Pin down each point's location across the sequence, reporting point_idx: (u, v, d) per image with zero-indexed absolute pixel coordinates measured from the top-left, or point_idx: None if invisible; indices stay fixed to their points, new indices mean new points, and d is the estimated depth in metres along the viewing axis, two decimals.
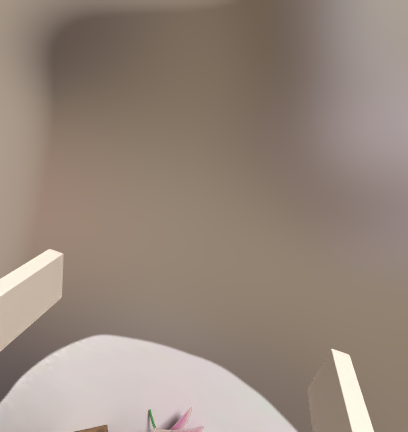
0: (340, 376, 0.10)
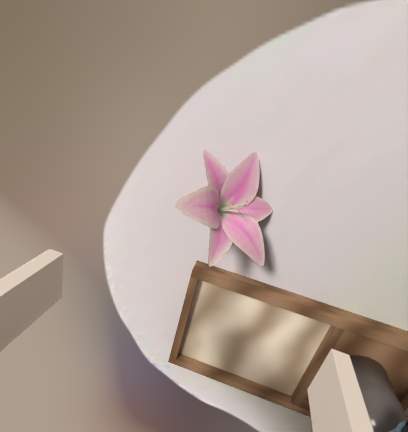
0: (340, 376, 0.10)
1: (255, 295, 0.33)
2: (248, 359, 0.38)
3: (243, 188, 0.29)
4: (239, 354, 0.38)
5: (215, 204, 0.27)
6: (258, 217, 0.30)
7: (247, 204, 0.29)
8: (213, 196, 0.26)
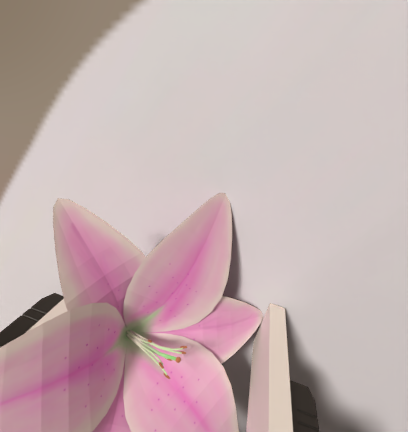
0: (271, 322, 0.12)
1: None
2: None
3: (187, 287, 0.11)
4: None
5: (96, 351, 0.09)
6: (229, 346, 0.13)
7: (200, 319, 0.12)
8: (84, 335, 0.09)
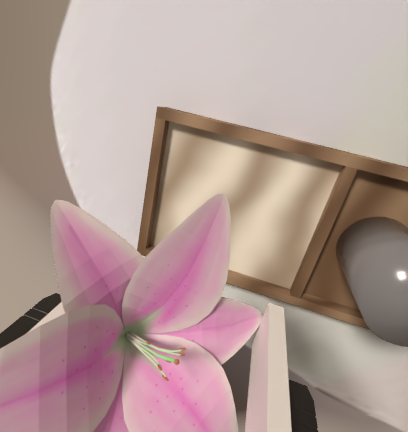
0: (270, 321, 0.12)
1: (239, 133, 0.25)
2: (235, 241, 0.30)
3: (186, 288, 0.11)
4: None
5: (94, 353, 0.09)
6: (228, 347, 0.13)
7: (199, 321, 0.12)
8: (82, 337, 0.09)
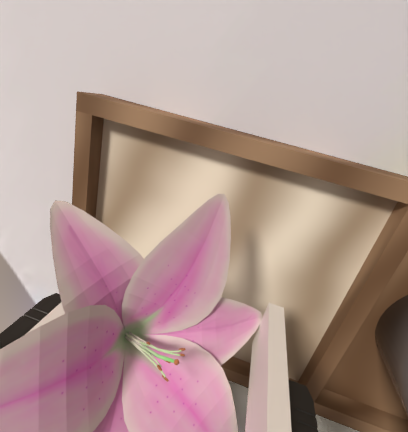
0: (270, 321, 0.12)
1: (217, 140, 0.14)
2: None
3: (186, 288, 0.11)
4: None
5: (94, 353, 0.09)
6: (228, 347, 0.13)
7: (199, 321, 0.12)
8: (82, 338, 0.09)
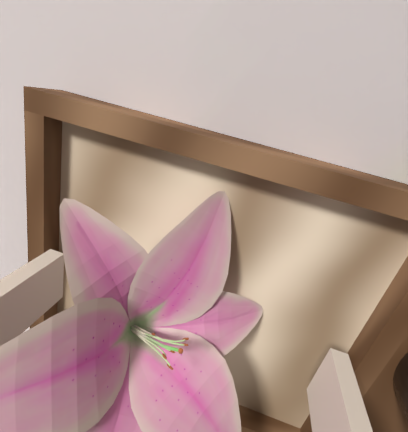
0: (339, 375, 0.10)
1: (198, 147, 0.11)
2: None
3: (189, 282, 0.12)
4: None
5: (102, 344, 0.10)
6: (230, 339, 0.13)
7: (202, 314, 0.12)
8: (91, 328, 0.09)
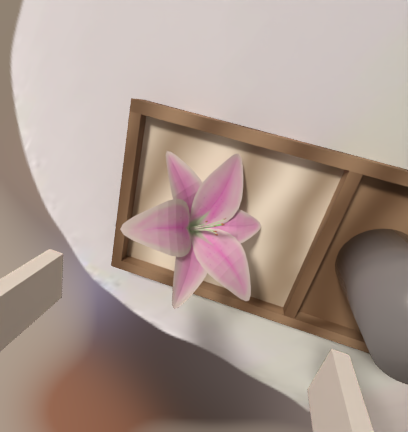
0: (340, 376, 0.10)
1: (226, 130, 0.22)
2: None
3: (221, 200, 0.22)
4: None
5: (183, 223, 0.20)
6: (243, 236, 0.23)
7: (228, 220, 0.23)
8: (180, 213, 0.20)
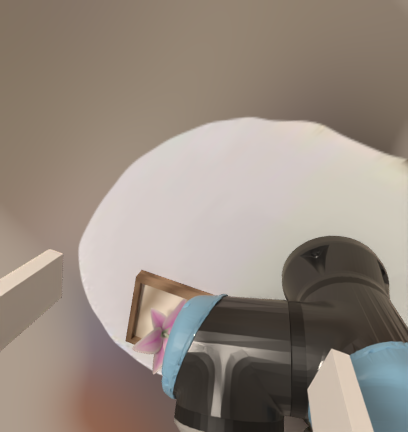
0: (340, 376, 0.10)
1: (177, 293, 0.49)
2: None
3: None
4: None
5: (158, 336, 0.48)
6: None
7: None
8: (156, 333, 0.48)
